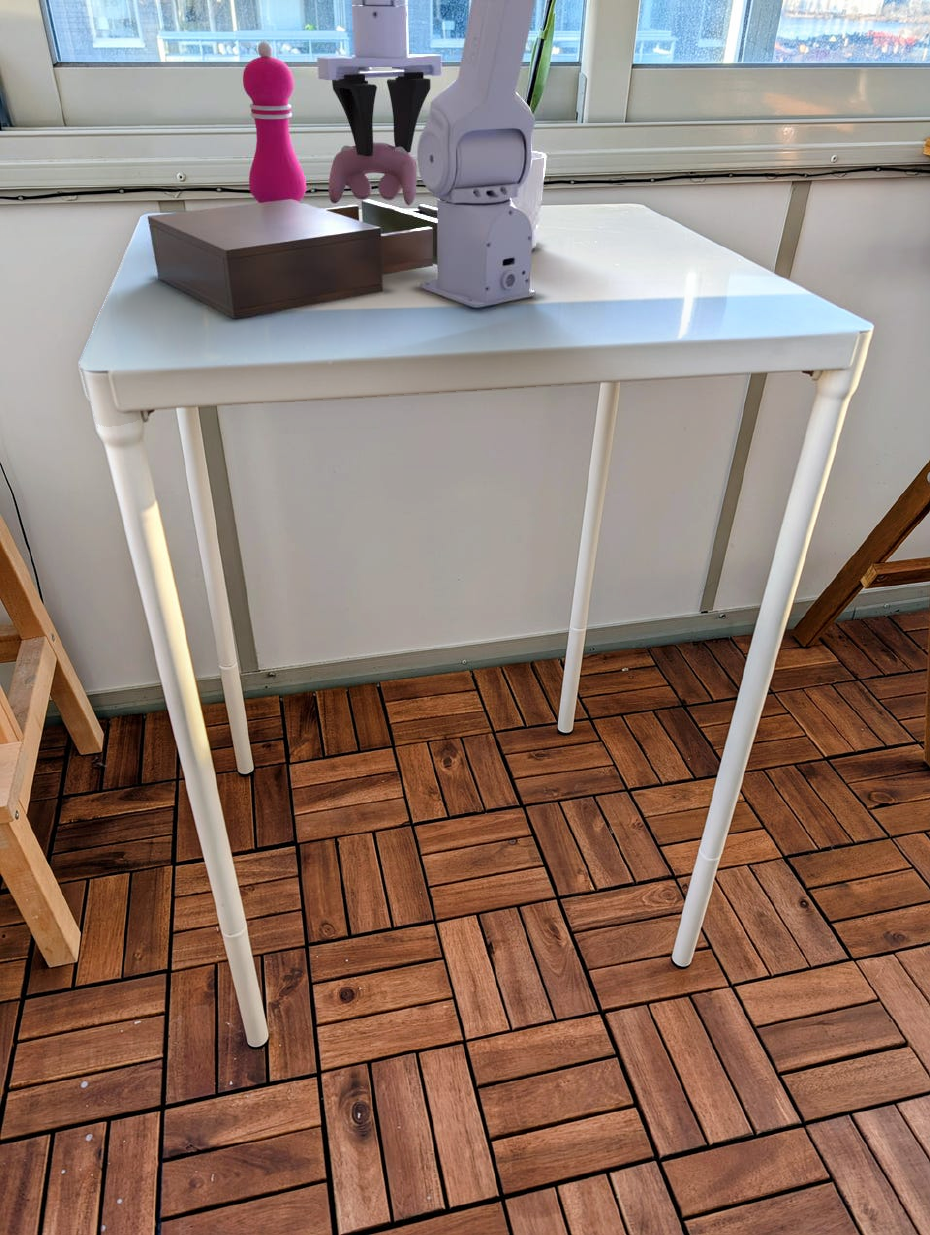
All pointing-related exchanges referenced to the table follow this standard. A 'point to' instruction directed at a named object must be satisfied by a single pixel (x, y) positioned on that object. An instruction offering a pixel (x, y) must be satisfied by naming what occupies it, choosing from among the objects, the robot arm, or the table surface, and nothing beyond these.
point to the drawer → (399, 233)
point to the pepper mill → (272, 130)
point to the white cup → (532, 193)
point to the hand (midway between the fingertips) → (384, 153)
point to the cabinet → (266, 256)
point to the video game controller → (383, 160)
